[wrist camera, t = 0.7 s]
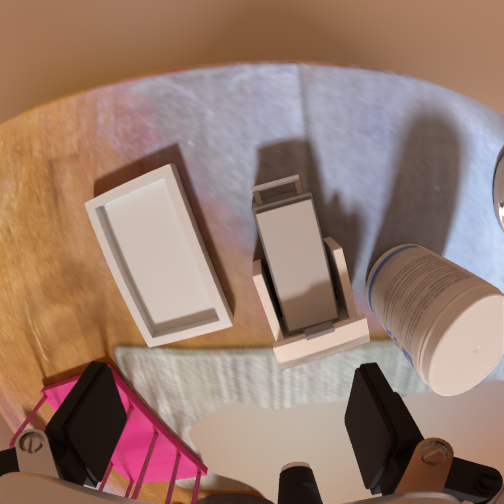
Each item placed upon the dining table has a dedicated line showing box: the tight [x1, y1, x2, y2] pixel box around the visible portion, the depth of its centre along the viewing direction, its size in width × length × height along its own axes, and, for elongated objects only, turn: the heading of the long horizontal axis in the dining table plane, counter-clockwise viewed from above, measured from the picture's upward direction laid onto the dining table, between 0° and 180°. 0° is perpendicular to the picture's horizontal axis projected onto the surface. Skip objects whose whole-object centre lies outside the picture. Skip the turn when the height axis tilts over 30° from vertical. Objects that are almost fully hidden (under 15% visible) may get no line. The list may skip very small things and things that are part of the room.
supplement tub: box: [366, 244, 504, 396], centre depth 24 cm, size 10×10×15 cm
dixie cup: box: [278, 462, 323, 504], centre depth 35 cm, size 8×8×11 cm
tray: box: [84, 164, 234, 347], centre depth 30 cm, size 10×17×2 cm, turn 19°
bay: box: [253, 236, 370, 370], centre depth 27 cm, size 8×8×8 cm
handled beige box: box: [251, 174, 340, 334], centre depth 28 cm, size 5×14×5 cm, turn 16°
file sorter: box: [10, 364, 208, 504], centre depth 31 cm, size 17×25×16 cm
